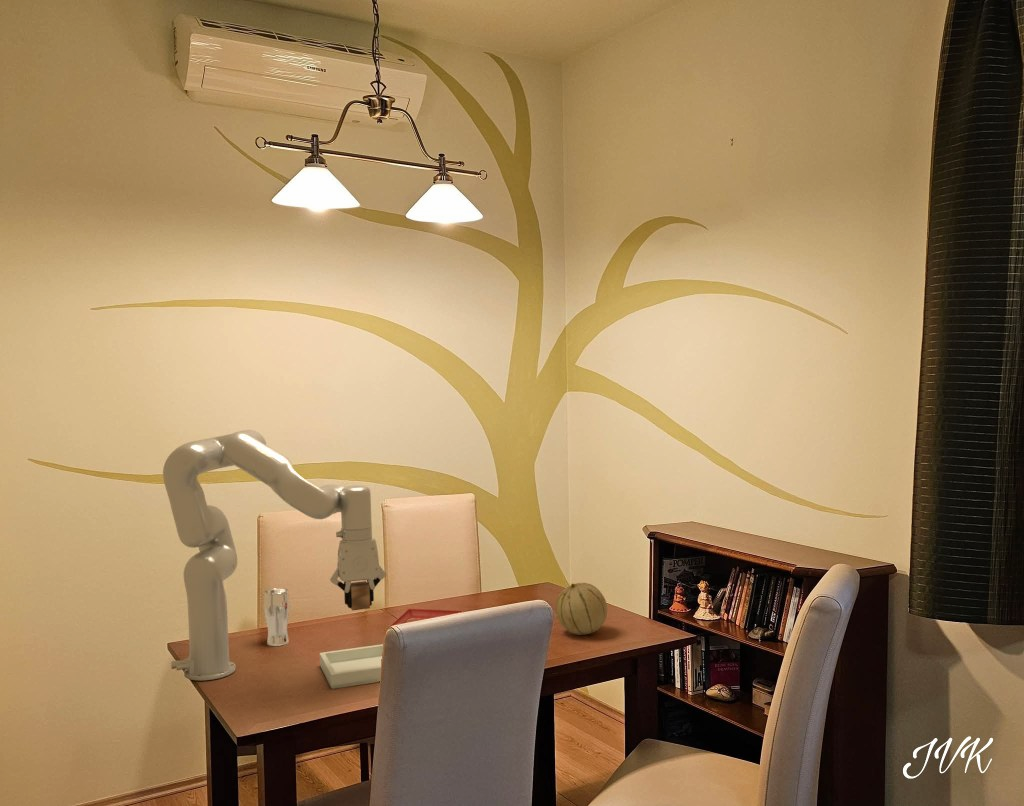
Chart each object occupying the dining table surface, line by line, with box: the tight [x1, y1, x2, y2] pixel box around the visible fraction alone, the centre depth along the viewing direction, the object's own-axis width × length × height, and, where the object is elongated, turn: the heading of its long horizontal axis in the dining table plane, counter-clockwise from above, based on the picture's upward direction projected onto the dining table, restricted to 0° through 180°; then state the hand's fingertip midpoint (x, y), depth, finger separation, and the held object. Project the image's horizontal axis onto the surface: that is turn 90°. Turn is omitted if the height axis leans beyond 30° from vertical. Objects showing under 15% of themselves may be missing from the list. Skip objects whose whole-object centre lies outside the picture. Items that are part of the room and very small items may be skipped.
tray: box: [319, 643, 384, 690], centre depth 225 cm, size 18×18×4 cm
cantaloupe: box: [555, 582, 608, 636], centre depth 253 cm, size 15×15×15 cm
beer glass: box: [263, 587, 290, 647], centre depth 251 cm, size 7×7×15 cm
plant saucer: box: [388, 608, 464, 628], centre depth 263 cm, size 18×18×3 cm
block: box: [350, 580, 371, 611], centre depth 225 cm, size 4×4×6 cm
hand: (359, 604), depth 225 cm, fingers closed on block, 4 cm apart
